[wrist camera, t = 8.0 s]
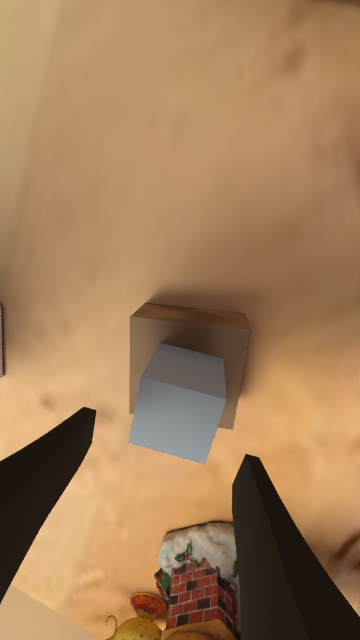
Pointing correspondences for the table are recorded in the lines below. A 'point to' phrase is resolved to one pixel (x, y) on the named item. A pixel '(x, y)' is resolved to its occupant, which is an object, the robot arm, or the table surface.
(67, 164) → the table surface
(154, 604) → the magic lamp
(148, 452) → the table surface
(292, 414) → the table surface
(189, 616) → the santa figurine
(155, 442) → the slate cube
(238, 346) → the walnut block
